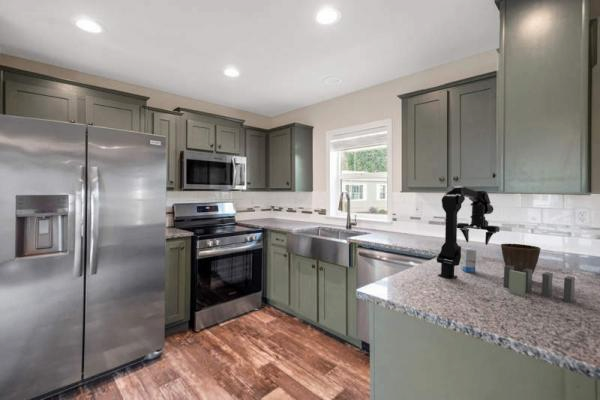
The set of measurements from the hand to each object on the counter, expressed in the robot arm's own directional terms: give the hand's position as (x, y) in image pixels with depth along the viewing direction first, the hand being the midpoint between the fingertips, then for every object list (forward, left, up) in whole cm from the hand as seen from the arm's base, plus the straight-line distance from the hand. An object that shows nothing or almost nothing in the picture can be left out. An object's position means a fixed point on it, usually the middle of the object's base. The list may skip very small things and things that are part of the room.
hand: (476, 243), depth 151 cm
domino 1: (-18, -21, -14) cm, 31 cm away
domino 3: (-18, -34, -14) cm, 41 cm away
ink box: (-5, +2, -15) cm, 15 cm away
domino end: (-18, -40, -14) cm, 46 cm away
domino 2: (-18, -27, -14) cm, 36 cm away
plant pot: (0, -19, -14) cm, 24 cm away
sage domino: (-26, -26, -14) cm, 40 cm away
